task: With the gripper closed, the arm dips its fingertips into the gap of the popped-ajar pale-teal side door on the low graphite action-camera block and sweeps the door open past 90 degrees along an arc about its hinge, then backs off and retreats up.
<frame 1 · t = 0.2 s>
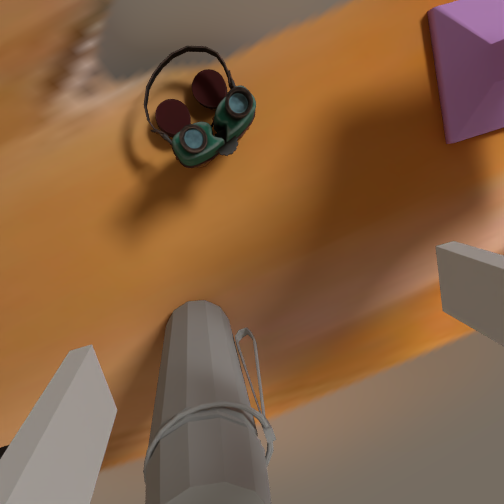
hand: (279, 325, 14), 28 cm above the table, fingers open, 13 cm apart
water bottle: (206, 323, 43), on the table
binoculars: (196, 115, 38), on the table
vase: (492, 64, 42), on the table
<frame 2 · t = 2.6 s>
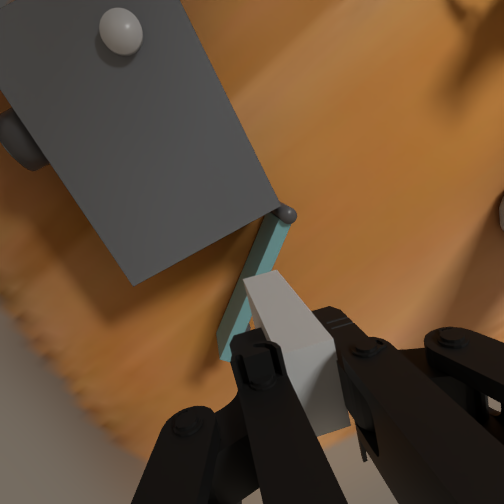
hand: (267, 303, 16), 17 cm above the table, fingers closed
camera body: (148, 132, 29), on the table
side door: (256, 279, 31), point 3 cm above the table, hinge at 40.0°
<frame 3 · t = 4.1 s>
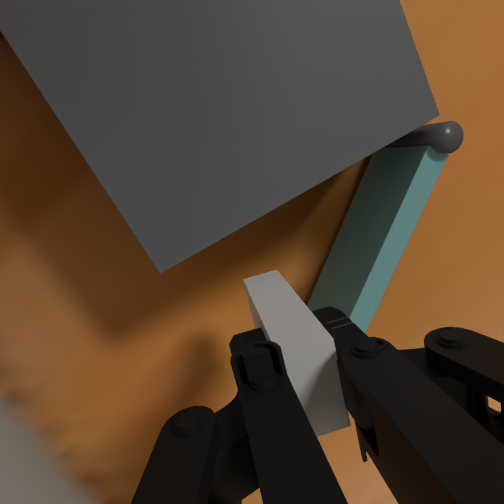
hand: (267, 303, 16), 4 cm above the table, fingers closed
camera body: (178, 5, 17), on the table
side door: (364, 262, 18), point 3 cm above the table, hinge at 40.0°
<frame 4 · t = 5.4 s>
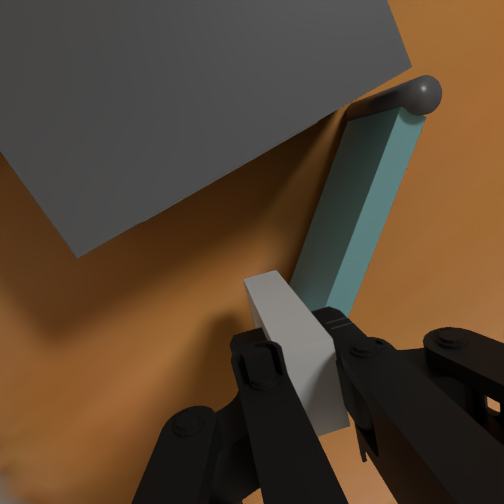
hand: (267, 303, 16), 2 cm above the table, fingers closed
side door: (340, 251, 16), point 3 cm above the table, hinge at 42.7°, touching gripper
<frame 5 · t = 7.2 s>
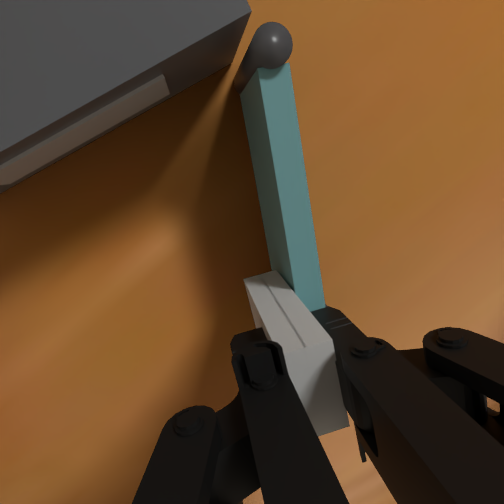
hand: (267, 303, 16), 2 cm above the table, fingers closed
side door: (293, 224, 15), point 3 cm above the table, hinge at 71.9°, touching gripper
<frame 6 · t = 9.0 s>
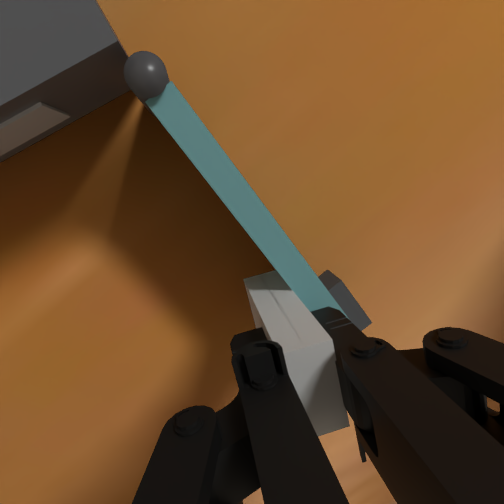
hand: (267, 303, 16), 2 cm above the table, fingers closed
side door: (262, 216, 15), point 3 cm above the table, hinge at 98.6°, touching gripper
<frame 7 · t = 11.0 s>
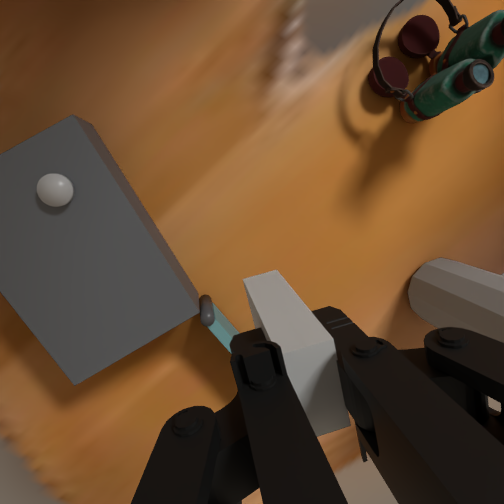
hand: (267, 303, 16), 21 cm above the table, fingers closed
water bottle: (439, 282, 42), on the table
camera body: (91, 246, 35), on the table
binoculars: (401, 69, 36), on the table
side door: (248, 351, 36), point 3 cm above the table, hinge at 98.6°
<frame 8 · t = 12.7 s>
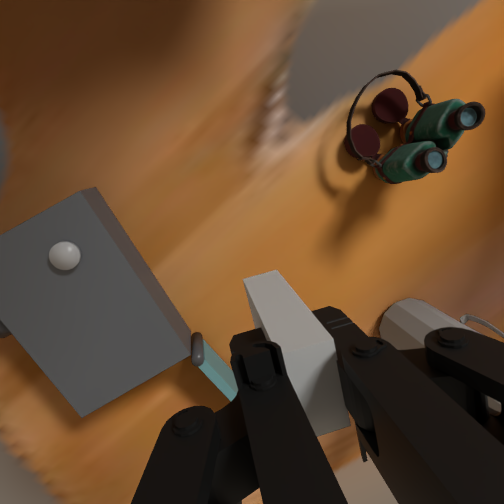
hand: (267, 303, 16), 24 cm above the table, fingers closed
water bottle: (409, 318, 46), on the table
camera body: (95, 292, 39), on the table
binoculars: (375, 132, 40), on the table
side door: (234, 383, 41), point 3 cm above the table, hinge at 98.6°
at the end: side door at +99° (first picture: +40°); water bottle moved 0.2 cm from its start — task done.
